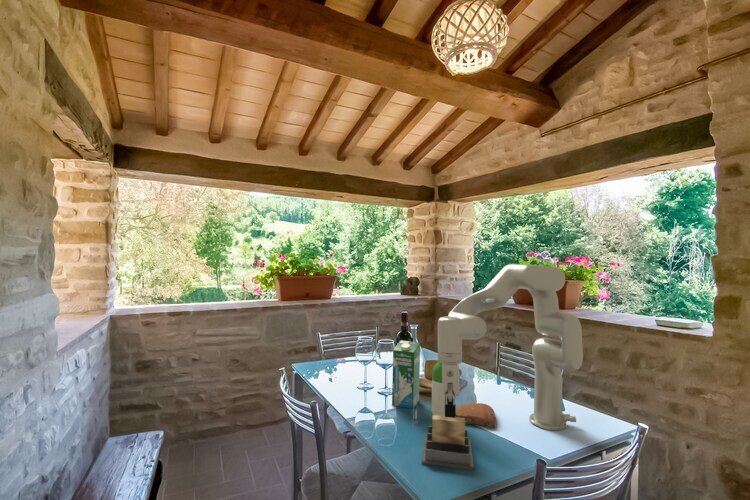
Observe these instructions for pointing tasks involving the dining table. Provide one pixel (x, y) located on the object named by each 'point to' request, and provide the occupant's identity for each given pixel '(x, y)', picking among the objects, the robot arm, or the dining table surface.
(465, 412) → the ceramic shard
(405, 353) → the milk carton
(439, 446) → the rack
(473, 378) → the dining table surface
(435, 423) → the oak board
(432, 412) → the wine bottle
